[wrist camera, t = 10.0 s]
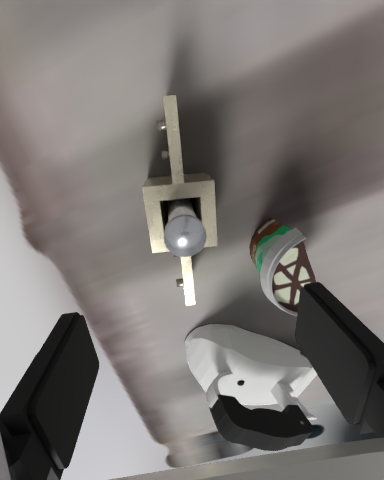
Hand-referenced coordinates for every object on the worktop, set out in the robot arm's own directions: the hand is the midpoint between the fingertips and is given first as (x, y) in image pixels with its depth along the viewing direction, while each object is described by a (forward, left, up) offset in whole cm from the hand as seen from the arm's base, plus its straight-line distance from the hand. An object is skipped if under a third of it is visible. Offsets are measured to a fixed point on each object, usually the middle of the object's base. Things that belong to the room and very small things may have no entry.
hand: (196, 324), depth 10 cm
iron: (+31, +9, -25) cm, 40 cm away
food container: (+10, +12, -25) cm, 29 cm away
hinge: (+1, 0, -24) cm, 24 cm away
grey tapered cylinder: (+1, 0, -24) cm, 24 cm away
